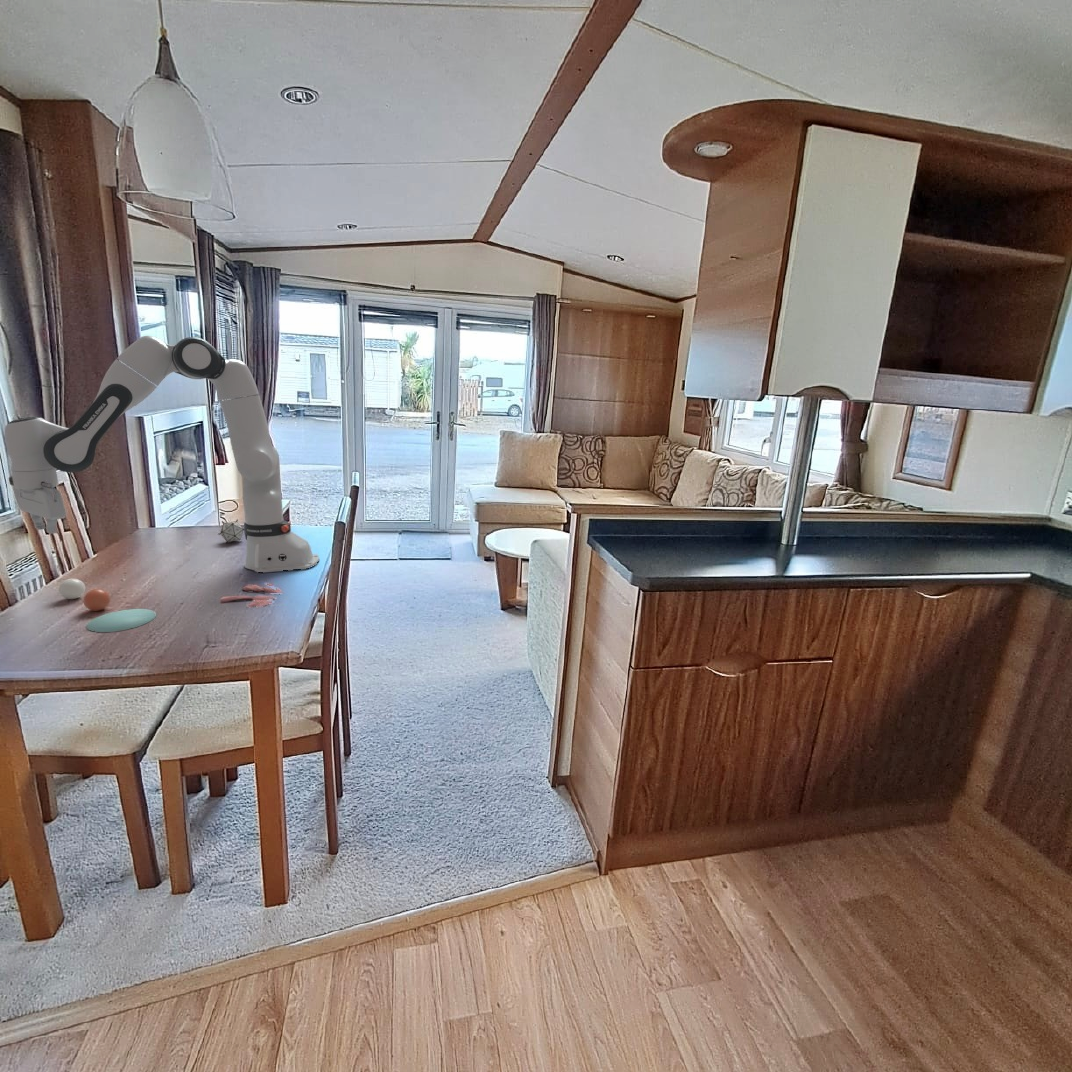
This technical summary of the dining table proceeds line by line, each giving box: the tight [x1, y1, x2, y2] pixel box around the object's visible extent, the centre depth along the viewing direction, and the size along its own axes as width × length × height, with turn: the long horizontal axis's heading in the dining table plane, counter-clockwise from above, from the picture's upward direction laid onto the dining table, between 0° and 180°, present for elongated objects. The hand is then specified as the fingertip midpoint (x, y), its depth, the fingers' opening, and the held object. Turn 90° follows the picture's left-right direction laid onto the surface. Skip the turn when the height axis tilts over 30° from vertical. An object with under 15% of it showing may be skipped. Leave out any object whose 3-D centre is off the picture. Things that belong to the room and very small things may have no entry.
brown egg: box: [82, 588, 111, 612], centre depth 147 cm, size 6×6×6 cm
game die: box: [217, 519, 244, 545], centre depth 209 cm, size 9×8×10 cm
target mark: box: [86, 608, 157, 633], centre depth 141 cm, size 14×14×1 cm
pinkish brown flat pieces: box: [220, 582, 283, 608], centre depth 160 cm, size 20×22×2 cm
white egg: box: [58, 578, 86, 600], centre depth 153 cm, size 6×6×6 cm
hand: (46, 531), depth 154 cm, fingers open, 6 cm apart
